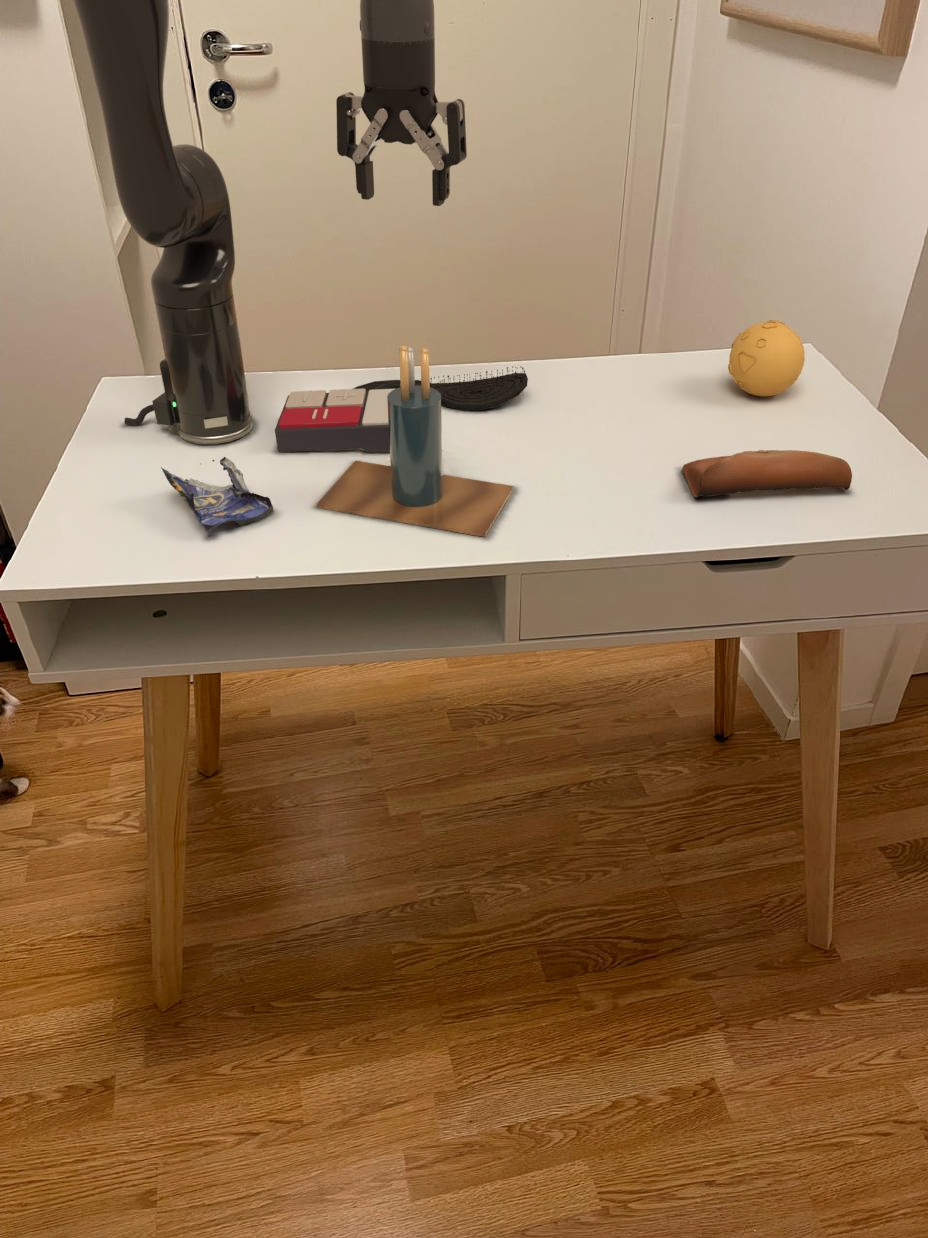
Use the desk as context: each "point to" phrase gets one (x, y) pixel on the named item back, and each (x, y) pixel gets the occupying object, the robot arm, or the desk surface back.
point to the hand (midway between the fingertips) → (402, 201)
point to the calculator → (334, 421)
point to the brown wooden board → (457, 510)
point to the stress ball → (766, 358)
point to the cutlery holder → (415, 435)
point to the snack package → (221, 499)
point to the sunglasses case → (766, 472)
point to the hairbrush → (468, 390)
